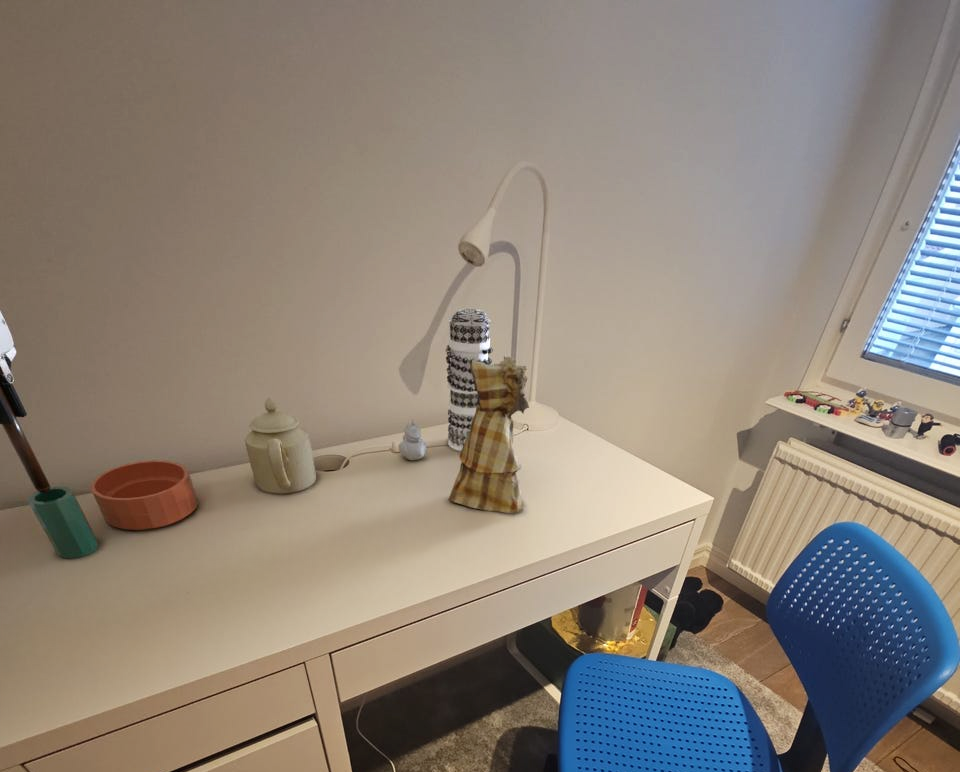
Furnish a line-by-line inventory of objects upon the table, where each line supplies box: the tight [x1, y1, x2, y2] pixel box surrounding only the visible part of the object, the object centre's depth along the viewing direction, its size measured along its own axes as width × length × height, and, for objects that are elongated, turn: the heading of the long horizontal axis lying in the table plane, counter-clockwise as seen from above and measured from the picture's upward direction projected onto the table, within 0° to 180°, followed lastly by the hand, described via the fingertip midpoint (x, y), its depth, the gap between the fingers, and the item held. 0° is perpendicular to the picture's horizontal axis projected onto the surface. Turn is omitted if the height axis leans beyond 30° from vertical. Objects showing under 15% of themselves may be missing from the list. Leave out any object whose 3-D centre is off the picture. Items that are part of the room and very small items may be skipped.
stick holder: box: [27, 486, 99, 560], centre depth 82 cm, size 5×5×9 cm
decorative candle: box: [445, 308, 494, 452], centre depth 112 cm, size 9×9×25 cm
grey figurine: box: [398, 419, 427, 461], centre depth 111 cm, size 5×7×8 cm
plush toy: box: [447, 355, 530, 514], centre depth 94 cm, size 14×14×25 cm
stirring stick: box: [0, 387, 51, 493], centre depth 74 cm, size 2×2×16 cm
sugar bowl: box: [244, 397, 317, 495], centre depth 98 cm, size 15×11×15 cm
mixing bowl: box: [89, 459, 199, 531], centre depth 92 cm, size 14×14×6 cm
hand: (7, 418), depth 72 cm, fingers closed on stirring stick, 1 cm apart
